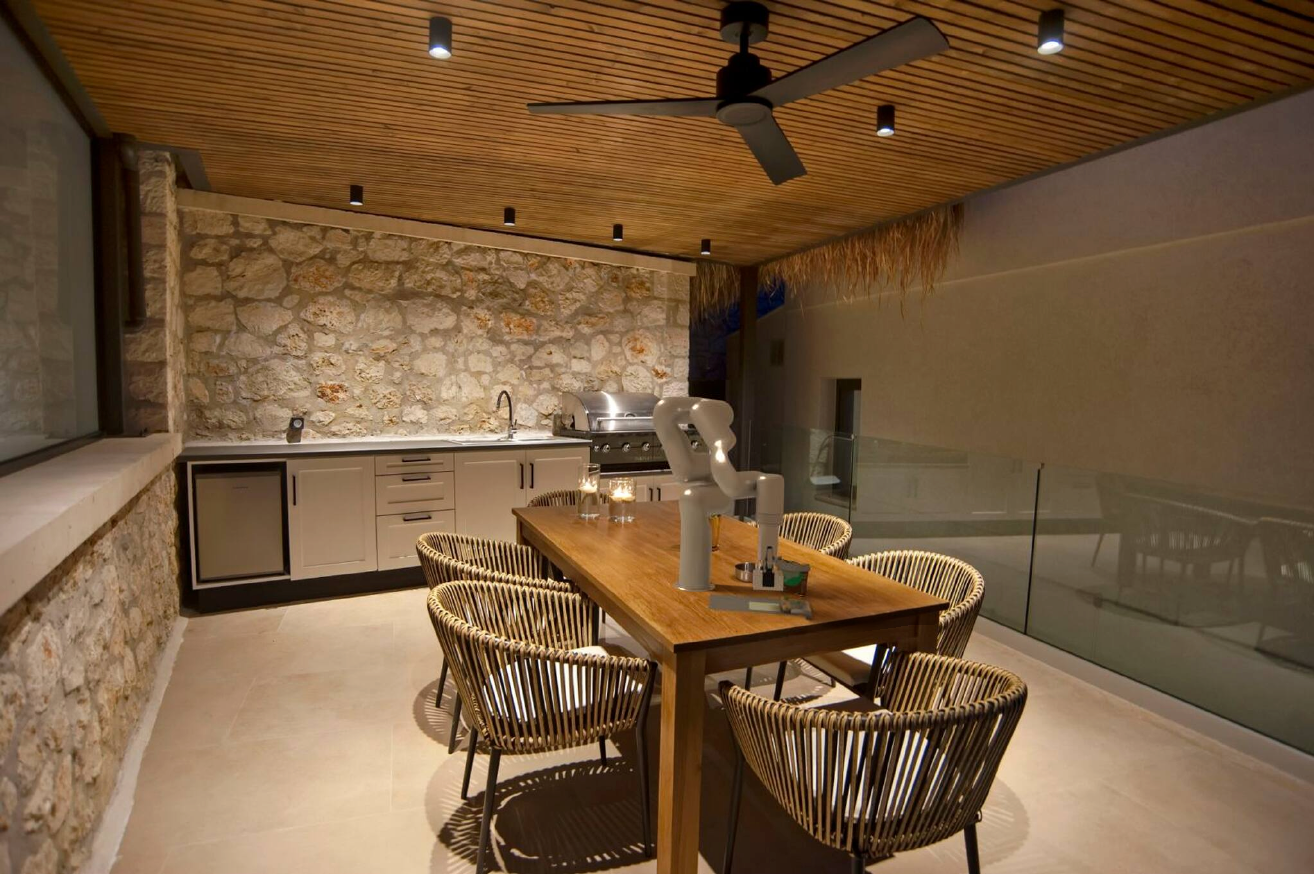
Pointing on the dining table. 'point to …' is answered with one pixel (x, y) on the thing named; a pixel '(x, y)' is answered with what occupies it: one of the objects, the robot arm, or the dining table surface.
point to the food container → (793, 575)
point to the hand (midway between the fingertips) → (767, 583)
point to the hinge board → (749, 604)
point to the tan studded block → (759, 577)
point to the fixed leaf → (795, 606)
